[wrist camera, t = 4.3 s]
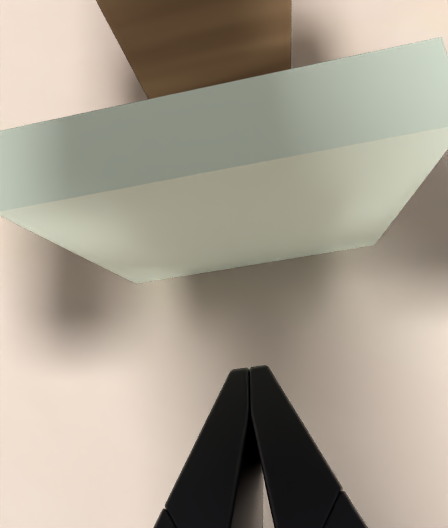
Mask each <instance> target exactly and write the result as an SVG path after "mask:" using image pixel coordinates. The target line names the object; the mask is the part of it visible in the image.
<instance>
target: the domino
mask: <svg viewBox="0 0 448 528" xmlns="http://www.w3.org/2000/svg"><path fill="white" fill-rule="evenodd" d="M96 1H97V3H98V5H99V7H100V9H101V11H102V13H103V15H104V16H105V18H106V20H107V22H108V24H109V26H110V28H111V30H112V32H113V33H114V35H115V37H116V39H117V41H118V43H119V45H120V47H121V48H122V50H123V52H124V54H125V56H126V58H127V60H128V62H129V63H130V65H131V67H132V69H133V71H134V73H135V75H136V77H137V78H138V80H139V82H140V84H141V86H142V88H143V90H144V92H145V94H146V95H147V97H148V99H152V98H157V97H162V96H166V95H171V94H176V93H181V92H185V91H190V90H195V89H199V88H204V87H209V86H213V85H218V84H223V83H228V82H232V81H237V80H242V79H246V78H251V77H256V76H260V75H265V74H270V73H275V72H279V71H284V70H289V69H291V0H96Z"/></svg>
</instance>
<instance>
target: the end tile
mask: <svg viewBox="0 0 448 528" xmlns="http://www.w3.org/2000/svg"><path fill="white" fill-rule="evenodd" d="M447 150H448V56H447V53H446V49H445V46H444V43H443V40H442V37H439V38H435V39H430V40H425V41H420V42H416V43H411V44H406V45H402V46H397V47H392V48H388V49H383V50H378V51H373V52H369V53H364V54H359V55H355V56H350V57H345V58H340V59H336V60H331V61H326V62H322V63H317V64H312V65H308V66H303V67H298V68H293V69H289V70H284V71H279V72H275V73H270V74H265V75H260V76H256V77H251V78H246V79H242V80H237V81H232V82H228V83H223V84H218V85H213V86H209V87H204V88H199V89H195V90H190V91H185V92H181V93H176V94H171V95H166V96H162V97H157V98H152V99H148V100H143V101H138V102H133V103H129V104H124V105H119V106H115V107H110V108H105V109H101V110H96V111H91V112H86V113H82V114H77V115H72V116H68V117H63V118H58V119H53V120H49V121H44V122H39V123H35V124H30V125H25V126H21V127H16V128H11V129H6V130H2V131H0V216H1V217H3V218H5V219H7V220H9V221H11V222H13V223H15V224H17V225H19V226H21V227H23V228H25V229H27V230H29V231H31V232H33V233H35V234H37V235H39V236H41V237H43V238H45V239H47V240H49V241H51V242H53V243H55V244H57V245H59V246H61V247H63V248H65V249H67V250H69V251H71V252H73V253H75V254H77V255H79V256H81V257H83V258H85V259H87V260H89V261H91V262H93V263H95V264H97V265H99V266H101V267H103V268H105V269H107V270H109V271H111V272H113V273H115V274H117V275H119V276H121V277H123V278H125V279H127V280H129V281H131V282H133V283H135V284H138V283H144V282H150V281H156V280H163V279H169V278H175V277H181V276H187V275H193V274H200V273H206V272H212V271H218V270H224V269H231V268H237V267H243V266H249V265H255V264H261V263H268V262H274V261H280V260H286V259H292V258H298V257H305V256H311V255H317V254H323V253H329V252H336V251H342V250H348V249H354V248H360V247H366V246H373V245H375V244H376V243H377V241H378V240H379V239H380V237H381V236H382V235H383V233H384V232H385V231H386V229H387V228H388V227H389V226H390V224H391V223H392V222H393V220H394V219H395V218H396V216H397V215H398V214H399V212H400V211H401V210H402V209H403V207H404V206H405V205H406V203H407V202H408V201H409V199H410V198H411V197H412V195H413V194H414V193H415V192H416V190H417V189H418V188H419V186H420V185H421V184H422V182H423V181H424V180H425V178H426V177H427V176H428V175H429V173H430V172H431V171H432V169H433V168H434V167H435V165H436V164H437V163H438V161H439V160H440V159H441V158H442V156H443V155H444V154H445V152H446V151H447Z"/></svg>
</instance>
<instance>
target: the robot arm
mask: <svg viewBox="0 0 448 528" xmlns="http://www.w3.org/2000/svg"><path fill="white" fill-rule="evenodd" d="M263 476H264V481H265V486H266V490H267V495H268V500H269V504H270V509H271V514H272V518H273V523H274V528H368V527H367V526H366V524H365V523H364V521H363V519H362V518H361V516H360V515H359V513H358V512H357V510H356V509H355V507H354V505H353V504H352V502H351V501H350V499H349V497H348V496H347V494H346V492H345V491H343V488H342V486H341V485H340V483H339V481H338V480H337V478H336V476H335V475H334V473H333V472H332V470H331V468H330V467H329V465H328V463H327V462H326V460H325V458H324V457H323V455H322V454H321V452H320V450H319V449H318V447H317V445H316V444H315V442H314V440H313V439H312V437H311V436H310V434H309V432H308V431H307V429H306V427H305V426H304V424H303V422H302V421H301V419H300V418H299V416H298V414H297V413H296V411H295V409H294V408H293V406H292V404H291V403H290V401H289V400H288V398H287V396H286V395H285V393H284V391H283V390H282V388H281V386H280V385H279V383H278V382H277V380H276V378H275V377H274V375H273V373H272V372H271V370H270V368H269V367H268V366H266V365H263V366H256V367H251V368H250V370H249V369H248V368H241V369H233V370H232V371H230V373H229V375H228V377H227V379H226V381H225V383H224V385H223V387H222V389H221V391H220V393H219V395H218V397H217V399H216V402H215V404H214V406H213V408H212V410H211V412H210V414H209V416H208V418H207V420H206V422H205V424H204V426H203V428H202V430H201V432H200V434H199V436H198V438H197V440H196V442H195V444H194V446H193V448H192V451H191V453H190V455H189V457H188V459H187V461H186V463H185V465H184V467H183V469H182V471H181V473H180V475H179V477H178V479H177V481H176V483H175V485H174V487H173V489H172V491H171V493H170V495H169V497H168V500H167V502H166V504H165V508H166V509H165V508H164V509H162V511H161V513H160V515H159V518H158V520H157V522H156V524H155V526H154V528H263Z"/></svg>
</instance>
